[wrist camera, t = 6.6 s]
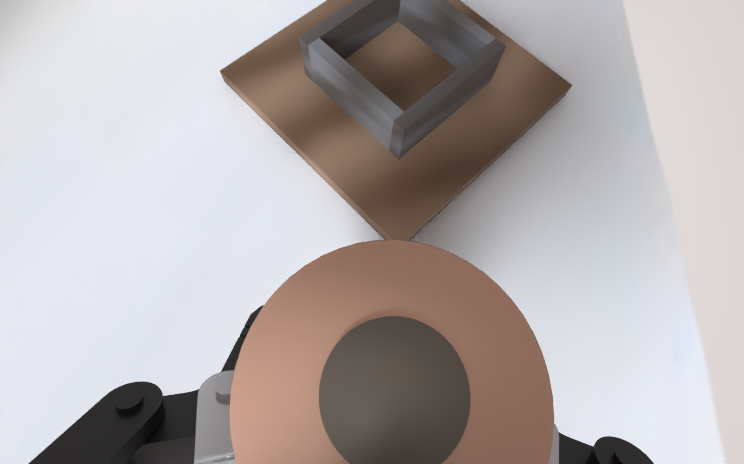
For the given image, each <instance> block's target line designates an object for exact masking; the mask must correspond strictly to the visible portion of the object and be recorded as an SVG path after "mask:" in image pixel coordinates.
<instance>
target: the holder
mask: <svg viewBox="0 0 744 464" xmlns="http://www.w3.org/2000/svg"><path fill="white" fill-rule="evenodd" d="M220 72H221V74H222V77H223V79H224V81H225V82H226V83H227V84H228V85H229V86H230V87H231V88H232V89H233V90H234V91H235V92H236V93H237V94H238V95H239V96H240V97H241V98H242V99H243V100H244V101H245V102H246V103H247V104H248V105H249V106H250V107H251V108H252V109H253V110H254V111H255V112H256V113H257V114H258V115H259V116H260V117H261V118H262V119H263V120H264V121H265V122H266V123H267V124H268V125H269V126H270V127H271V128H272V129H273V130H274V131H275V132H276V133H277V134H278V135H279V136H280V137H281V138H282V139H283V140H284V141H285V142H286V143H287V144H289V145H290V146H291V147H292V148H293V149H294V150H295V151H296V152H297V153H298V154H299V155H300V156H301V157H302V158H303V159H304V160H305V161H306V162H307V163H308V164H309V165H310V166H311V167H312V168H313V169H314V170H315V171H316V172H317V173H318V174H319V175H320V176H321V177H322V178H323V179H324V180H325V181H326V182H327V183H328V184H329V185H330V186H331V187H332V188H333V189H334V190H335V191H336V192H337V193H338V194H339V195H340V196H341V197H342V198H343V199H344V200H345V201H346V202H347V203H348V204H349V205H350V206H351V207H352V208H354V209H355V210H356V211H357V212H358V213H359V214H360V215H361V216H362V217H363V218H364V219H365V220H366V221H367V222H368V223H369V224H370V225H371V226H372V227H373V228H374V229H375V230H376V231H377V232H378V233H379V234H380V235H381V236H382V237H383V238H384V239H385V240H401V241H409V240H410V239H411V238H412V237H413V236H414V235H416V234H417V233H418V232H419V231H420V230H421V229H422V228H423V227H424V226H425V225H426V224H427V223H428V222H430V221H431V220H432V219H433V218H434V217H435V216H436V215H437V214H438V213H439V212H440V211H441V210H442V209H443V208H445V207H446V206H447V205H448V204H449V203H450V202H451V201H452V200H453V199H454V198H455V197H456V196H457V195H459V194H460V193H461V192H462V191H463V190H464V189H465V188H466V187H467V186H468V185H469V184H470V183H471V182H472V181H474V180H475V179H476V178H477V177H478V176H479V175H480V174H481V173H482V172H483V171H484V170H485V169H486V168H487V167H489V166H490V165H491V164H492V163H493V162H494V161H495V160H496V159H497V158H498V157H499V156H500V155H501V154H503V153H504V152H505V151H506V150H507V149H508V148H509V147H510V146H511V145H512V144H513V143H514V142H515V141H516V140H518V139H519V138H520V137H521V136H522V135H523V134H524V133H525V132H526V131H527V130H528V129H529V128H530V127H531V126H533V125H534V124H535V123H536V122H537V121H538V120H539V119H540V118H541V117H542V116H543V115H544V114H545V113H547V112H548V111H549V110H550V109H551V108H552V107H553V106H554V105H555V104H556V103H557V102H558V101H559V100H560V99H562V98H563V97H564V96H565V94H566V93H567V92H568V90H569V89H570V88H571V86H572V85H571V84H570V83H568V82H567V81H566V80H564V79H563V78H562V77H560V76H559V75H558V74H556V73H555V72H554V71H552V70H551V69H550V68H548V67H547V66H546V65H544V64H543V63H542V62H540V61H539V60H538V59H536V58H535V57H534V56H532V55H531V54H530V53H528V52H527V51H526V50H524V49H523V48H522V47H521V46H519V45H518V44H517V43H515V42H514V41H513V40H511V39H510V38H509V37H507V36H506V35H505V34H503V33H502V32H501V31H499V30H498V29H497V28H495V27H494V26H493V25H491V24H490V23H489V22H487V21H486V20H485V19H483V18H482V17H481V16H479V15H478V14H477V13H475V12H474V11H473V10H471V9H470V8H469V7H467V6H466V5H465V4H463V3H462V2H461V1H459V0H327V1H325V2H324V3H322V4H321V5H319V6H318V7H316V8H315V9H313V10H312V11H310V12H309V13H307V14H306V15H304V16H303V17H301V18H300V19H298V20H296V21H295V22H293V23H292V24H290V25H289V26H287V27H286V28H284V29H283V30H281V31H280V32H278V33H277V34H275V35H274V36H272V37H271V38H269V39H268V40H266V41H265V42H263V43H261V44H260V45H258V46H257V47H255V48H254V49H252V50H251V51H249V52H248V53H246V54H245V55H243V56H242V57H240V58H239V59H237V60H236V61H234V62H233V63H231V64H230V65H228V66H226V67H225V68H223V69H222V70H220Z"/></svg>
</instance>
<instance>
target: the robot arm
mask: <svg viewBox="0 0 744 464" xmlns="http://www.w3.org/2000/svg"><path fill="white" fill-rule="evenodd" d="M262 307H263V305H262V306H261V307H260V308H258V309H257V310H256V311H254V312H253V313H252V314H251V315H250V317H249V319H248V321H247V323H246V324H245V328H243V330H242V332H241V334H240V337H239V338H238V340H237V342H236V344H235V346H234V348H233V350H232V351H231V353H230V355H229V357H228V359H227V361H226V363H225V365H224V367H223V369H222V371H221V372H220V373H217V374H215V375H213V376H211V377H210V378H208V379H207V380H206V381H205V382H204V383H203V384H202V385H201V387H200V389H198V390H195V391H192V392H187V393H181V394H174V395H167V396H163V395H162V391H161V389H160V388H159V387H158V386H156V385H155V384H153V383H149V382H133V383H129V384H125V385H123V386H120V387H118V388H116V389H114V390H113V391H111V392H109V393H108V394H107V395H106V396H104V397H103V398H102V399H101V400H100V401H99V402H98V403H97V404H95V405H94V406H93V407H92V408H91V409H90V410H89V411H88V412H86V413H85V414H84V415H83V416H82V417H81V418H80V419H79V420H77V421H76V422H75V423H74V424H73V425H72V426H71V427H69V428H68V429H67V430H66V431H65V432H64V433H63V434H62V435H60V436H59V437H58V438H57V439H56V440H55V441H54V442H53V443H51V444H50V445H49V446H48V447H47V448H46V449H45V450H44V451H42V452H41V453H40V454H39V455H38V456H37V457H36V458H35V459H33V460H32V461H31V462H30V463H29V464H236V462H235V457H234V452H233V446H232V441H231V433H230V414H229V411H230V397H231V387H232V381H233V376H234V371H235V366H236V363H237V360H238V357H239V354H240V351H241V347H242V345H243V342H244V340H245V338H246V336H247V334H248V332H249V330H250V327H251V325H252V324H253V322H254V320H255V319H256V317H257V316H258V314H259V312H260V311H261V309H262ZM549 464H654V463H653V462H652V461H651V460H650V459H649V457H648V456H647V455H646V454H645V453H643V452H642V451H641V450H640V449H639V448H637V447H636V446H634V445H633V444H631V443H629V442H627V441H625V440H622V439H620V438H616V437H602V438H600V439H598V440H597V441H596V443H595V445H594V447H593V446H590V445H587V444H585V443H582V442H580V441H577V440H574V439H572V438H569V437H567V436H565V435H563V434H561V433H559V432H558V429H557V427H556V425H555V424H554V428H553V443H552V448H551V454H550V459H549Z"/></svg>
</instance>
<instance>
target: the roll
mask: <svg viewBox="0 0 744 464" xmlns="http://www.w3.org/2000/svg"><path fill="white" fill-rule="evenodd" d="M229 414H230V433H231V441H232V446H233V452H234V457H235V462H236V464H549V459H550V454H551V448H552V443H553V428H554V410H553V395H552V390H551V384H550V379H549V374H548V370H547V367H546V364H545V360H544V357H543V354H542V351H541V349H540V347H539V344H538V342H537V340H536V337H535V335H534V333H533V331H532V329H531V328H530V326H529V324H528V323H527V321H526V319H525V317H524V316H523V314H522V313H521V311H520V310H519V309H518V307H517V306H516V305H515V303H514V302H513V301H512V299H511V298H510V297H509V296H508V295H507V294H506V293H505V292H504V291H503V290H502V289H501V287H500V286H499V285H498V284H497V283H495V282H494V281H493V280H492V279H491V278H490V277H488V276H487V275H486V274H485V273H484V272H482V271H481V270H479V269H478V268H476V267H475V266H473V265H472V264H470V263H469V262H467V261H466V260H464V259H462V258H460V257H458V256H456V255H454V254H452V253H450V252H447V251H444V250H442V249H439V248H436V247H433V246H430V245H425V244H421V243H417V242H411V241H401V240H375V241H369V242H362V243H357V244H353V245H350V246H346V247H343V248H339V249H337V250H335V251H332V252H330V253H327V254H325V255H323V256H321V257H319V258H317V259H316V260H314V261H312V262H311V263H309V264H307V265H305V266H304V267H303V268H301V269H300V270H299V271H297V272H296V273H295V274H294V275H292V276H291V277H290V278H289V279H288V280H287V281H286V282H285V283H283V284H282V285H281V286H280V287H279V288H278V289H277V290H276V291H275V293H274V294H273V295H272V296H271V298H270V299H269V300H268V301H267V302H266V304H265V305H264V306H263V307H262V309H261V311H260V312H259V314H258V316H257V317H256V319H255V320H254V322H253V324H252V325H251V327H250V330H249V332H248V334H247V336H246V338H245V340H244V342H243V345H242V347H241V351H240V354H239V357H238V360H237V363H236V366H235V371H234V376H233V381H232V387H231V397H230V411H229Z"/></svg>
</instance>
